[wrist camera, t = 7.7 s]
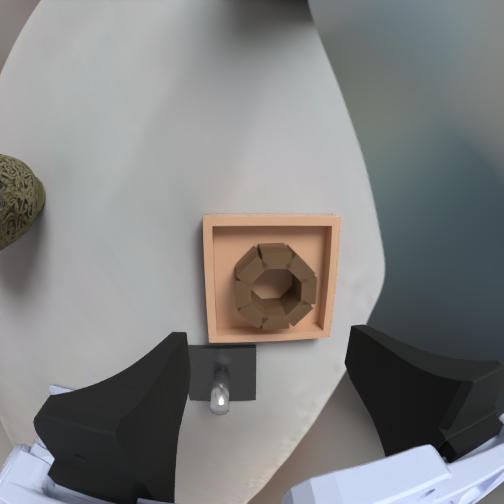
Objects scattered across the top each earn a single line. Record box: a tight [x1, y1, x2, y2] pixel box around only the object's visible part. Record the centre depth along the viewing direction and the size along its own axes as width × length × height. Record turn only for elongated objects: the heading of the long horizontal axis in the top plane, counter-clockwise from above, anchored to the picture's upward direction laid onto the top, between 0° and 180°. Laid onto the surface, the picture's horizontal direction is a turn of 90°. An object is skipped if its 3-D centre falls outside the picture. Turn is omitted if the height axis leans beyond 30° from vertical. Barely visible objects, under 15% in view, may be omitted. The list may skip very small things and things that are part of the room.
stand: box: [188, 345, 256, 415], centre depth 21 cm, size 6×6×5 cm
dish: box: [203, 214, 341, 343], centre depth 20 cm, size 9×9×2 cm
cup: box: [0, 154, 45, 250], centre depth 14 cm, size 8×7×8 cm
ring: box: [234, 243, 317, 330], centre depth 19 cm, size 5×5×3 cm
